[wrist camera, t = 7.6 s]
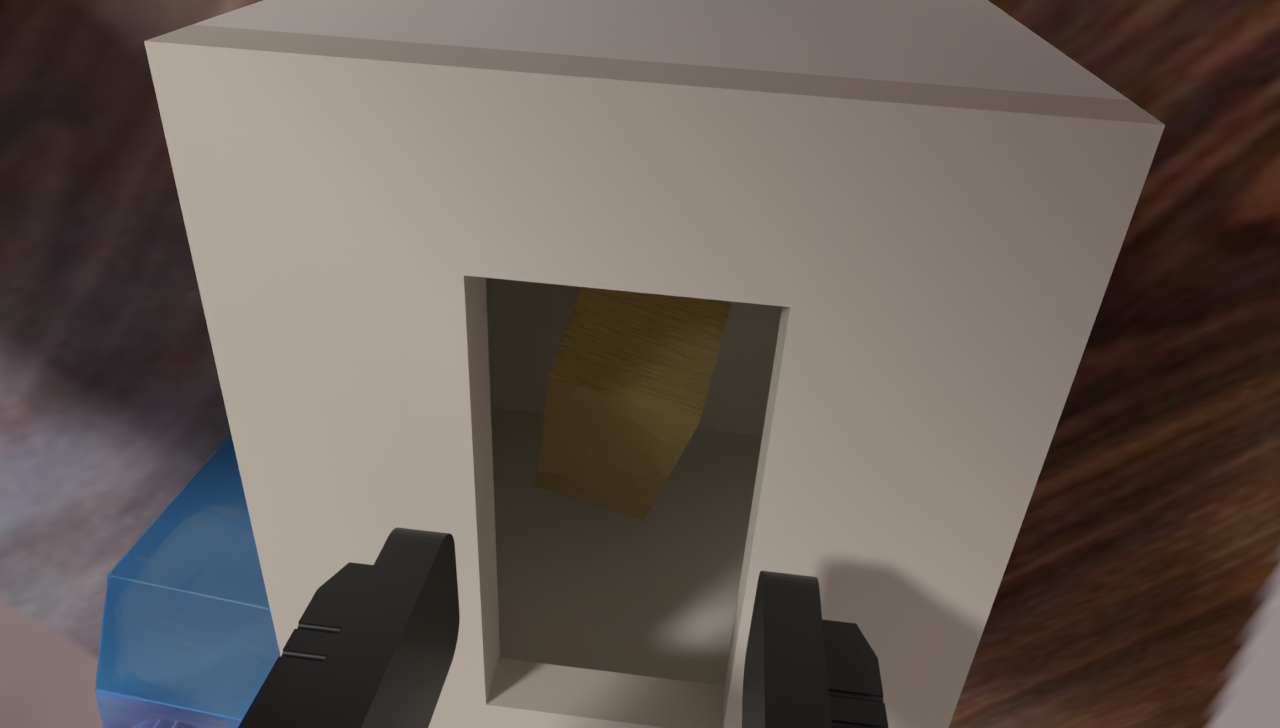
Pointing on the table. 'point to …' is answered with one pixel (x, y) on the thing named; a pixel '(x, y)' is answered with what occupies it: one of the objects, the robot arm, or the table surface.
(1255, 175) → the table surface
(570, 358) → the tan wooden block
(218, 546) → the perfume bottle
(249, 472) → the tissue box
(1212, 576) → the table surface
